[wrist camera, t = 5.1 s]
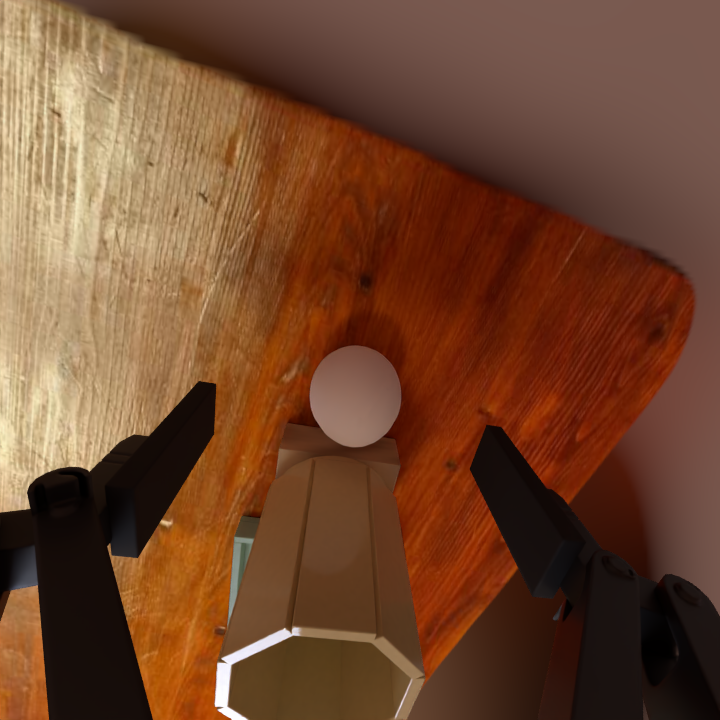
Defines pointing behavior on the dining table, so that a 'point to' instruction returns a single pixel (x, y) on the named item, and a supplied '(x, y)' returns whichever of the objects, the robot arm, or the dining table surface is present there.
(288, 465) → the block
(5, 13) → the dining table surface
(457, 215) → the dining table surface
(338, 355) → the egg
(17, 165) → the dining table surface
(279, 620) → the cup
